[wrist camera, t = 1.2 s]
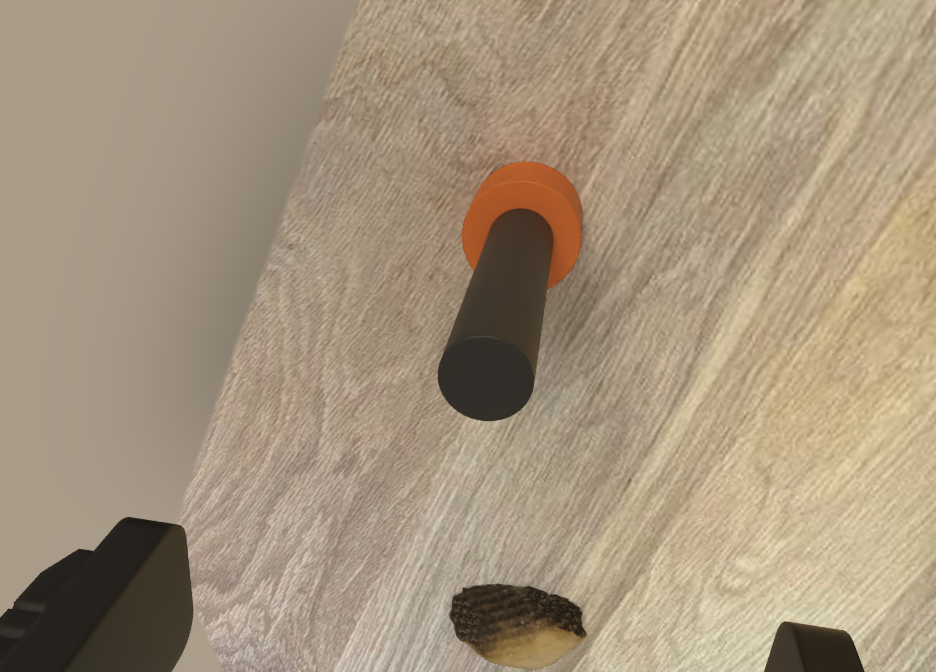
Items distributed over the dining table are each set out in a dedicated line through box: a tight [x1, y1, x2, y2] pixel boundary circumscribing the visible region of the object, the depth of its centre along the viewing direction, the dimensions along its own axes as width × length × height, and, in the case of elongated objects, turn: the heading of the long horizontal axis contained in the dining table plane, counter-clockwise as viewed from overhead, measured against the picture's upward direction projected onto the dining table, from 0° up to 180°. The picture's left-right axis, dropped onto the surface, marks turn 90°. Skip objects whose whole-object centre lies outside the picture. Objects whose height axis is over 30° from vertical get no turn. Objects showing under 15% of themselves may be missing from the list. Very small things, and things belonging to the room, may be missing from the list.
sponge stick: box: [438, 162, 582, 421], centre depth 26 cm, size 4×4×14 cm
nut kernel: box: [450, 584, 587, 670], centre depth 41 cm, size 6×5×3 cm
